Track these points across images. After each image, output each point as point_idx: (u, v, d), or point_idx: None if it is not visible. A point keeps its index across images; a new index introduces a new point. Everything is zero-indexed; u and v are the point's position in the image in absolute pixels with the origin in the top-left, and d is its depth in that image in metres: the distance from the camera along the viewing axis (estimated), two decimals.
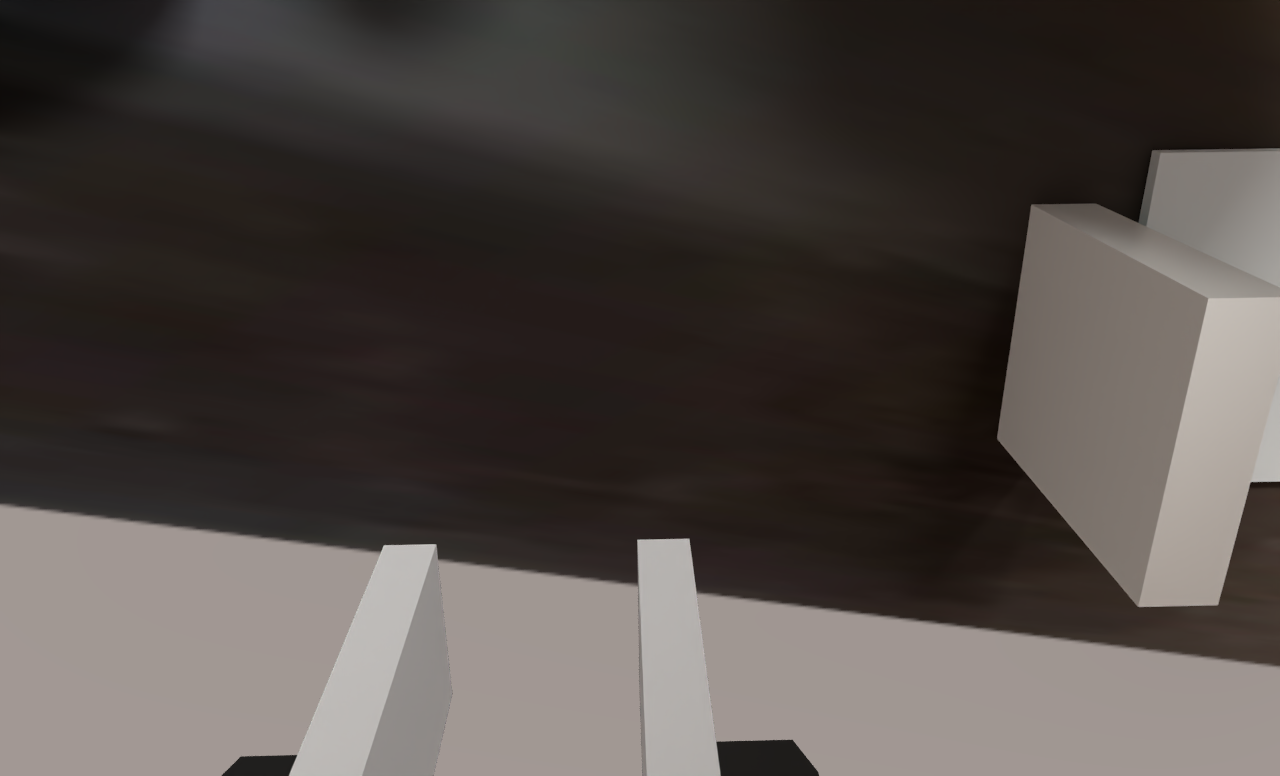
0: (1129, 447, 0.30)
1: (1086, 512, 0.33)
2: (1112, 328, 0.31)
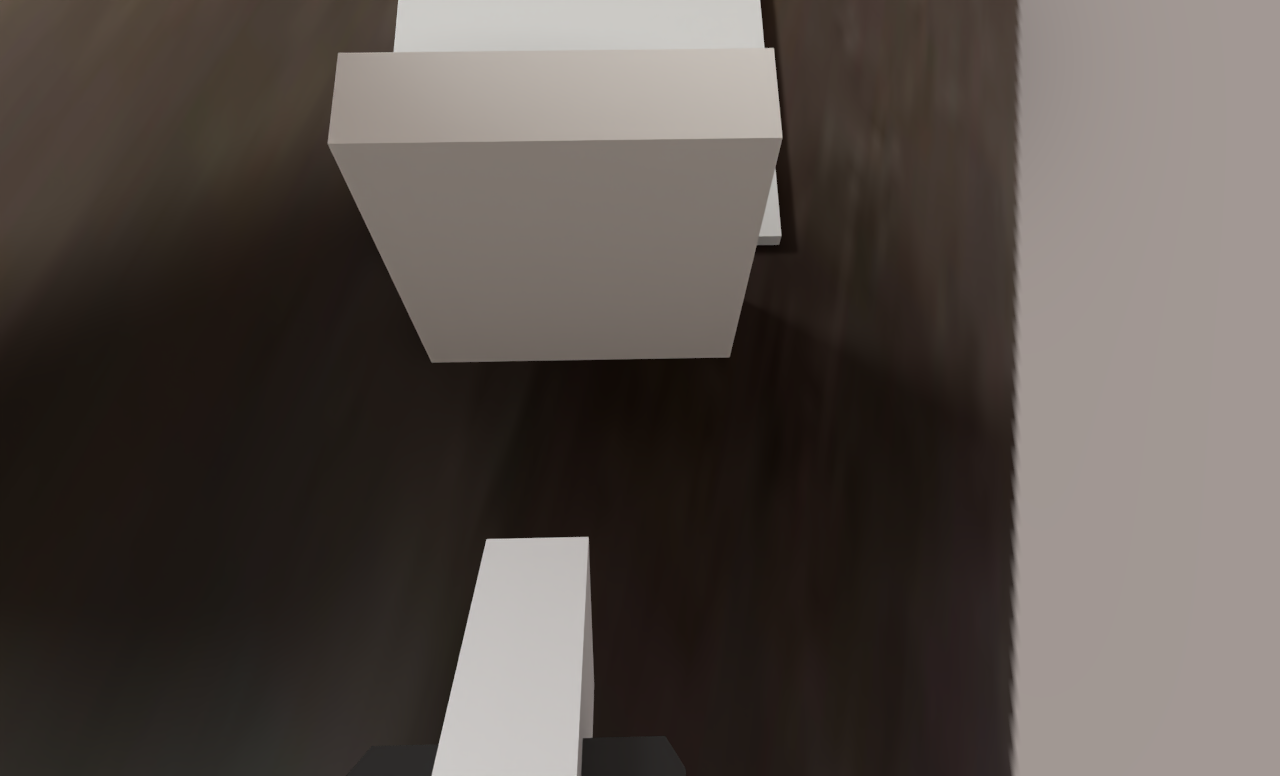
0: (587, 197, 0.23)
1: (719, 232, 0.25)
2: (470, 246, 0.25)
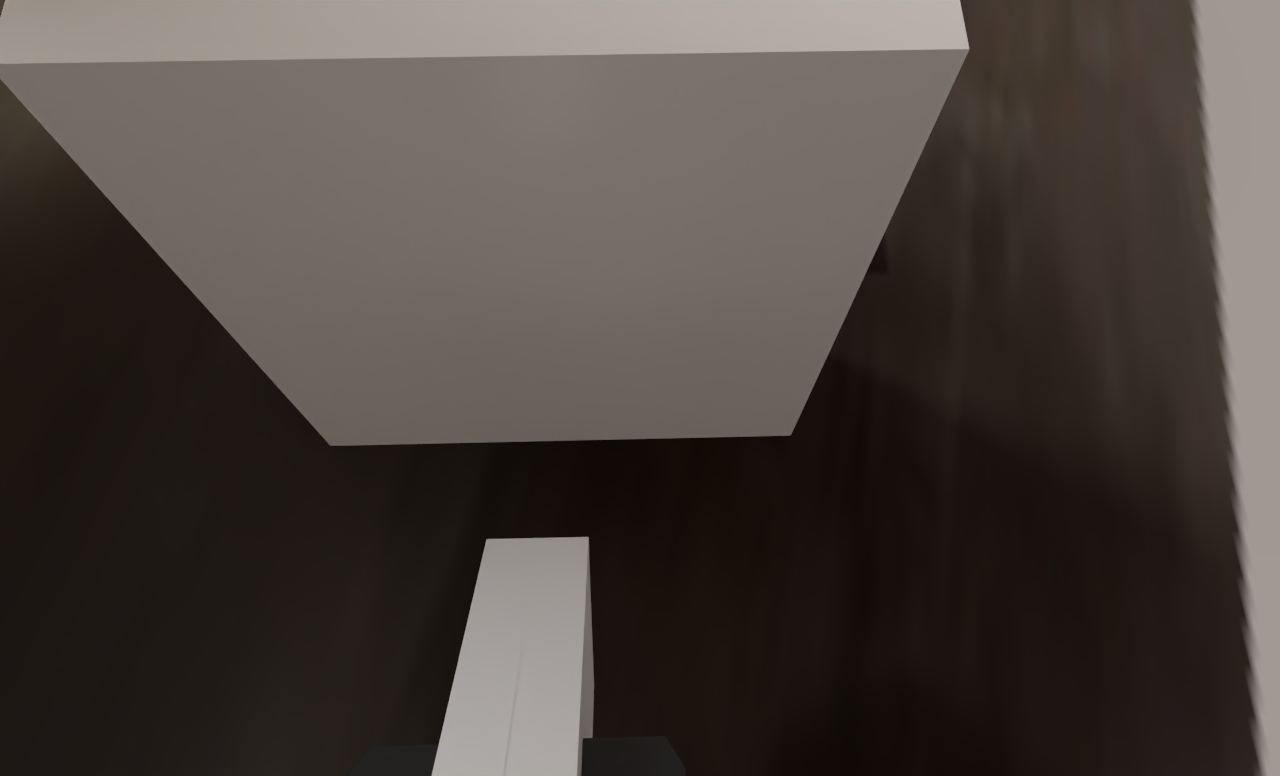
0: (555, 180, 0.12)
1: (803, 249, 0.14)
2: (349, 275, 0.14)
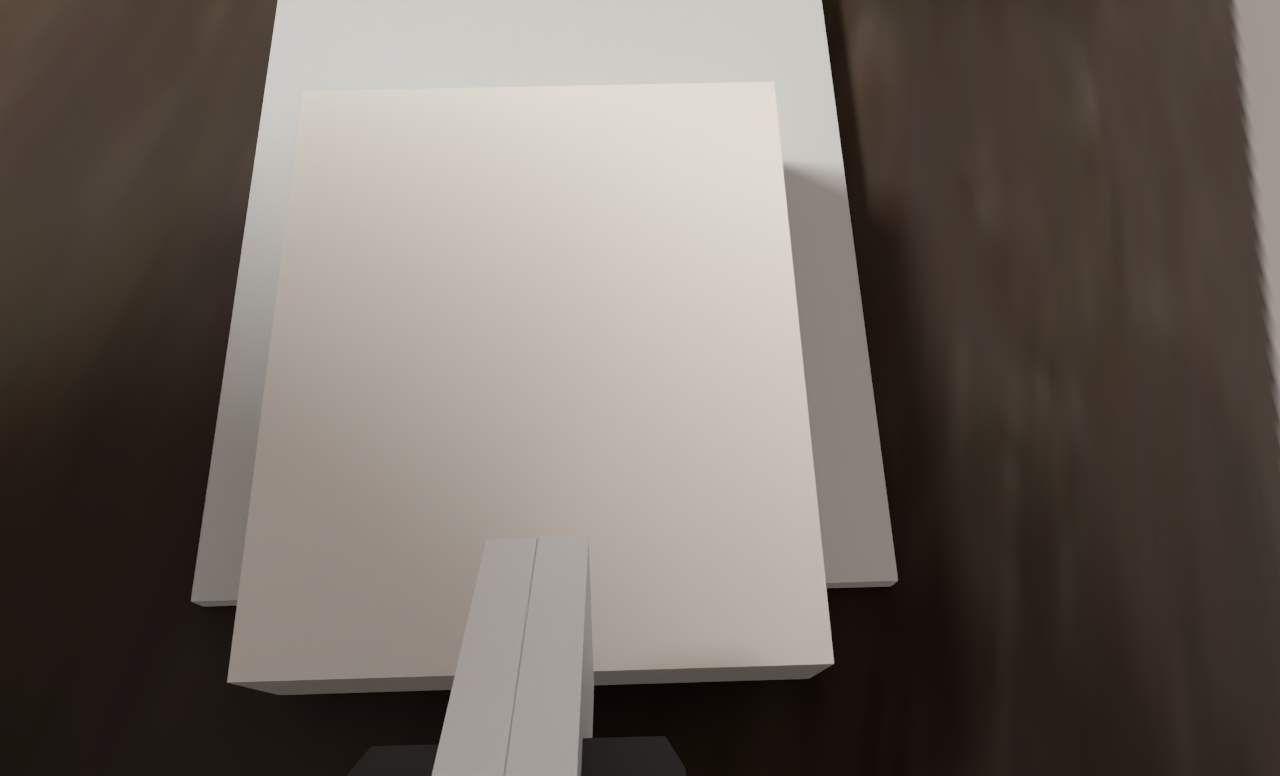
0: (567, 174, 0.20)
1: (737, 245, 0.19)
2: (404, 275, 0.19)
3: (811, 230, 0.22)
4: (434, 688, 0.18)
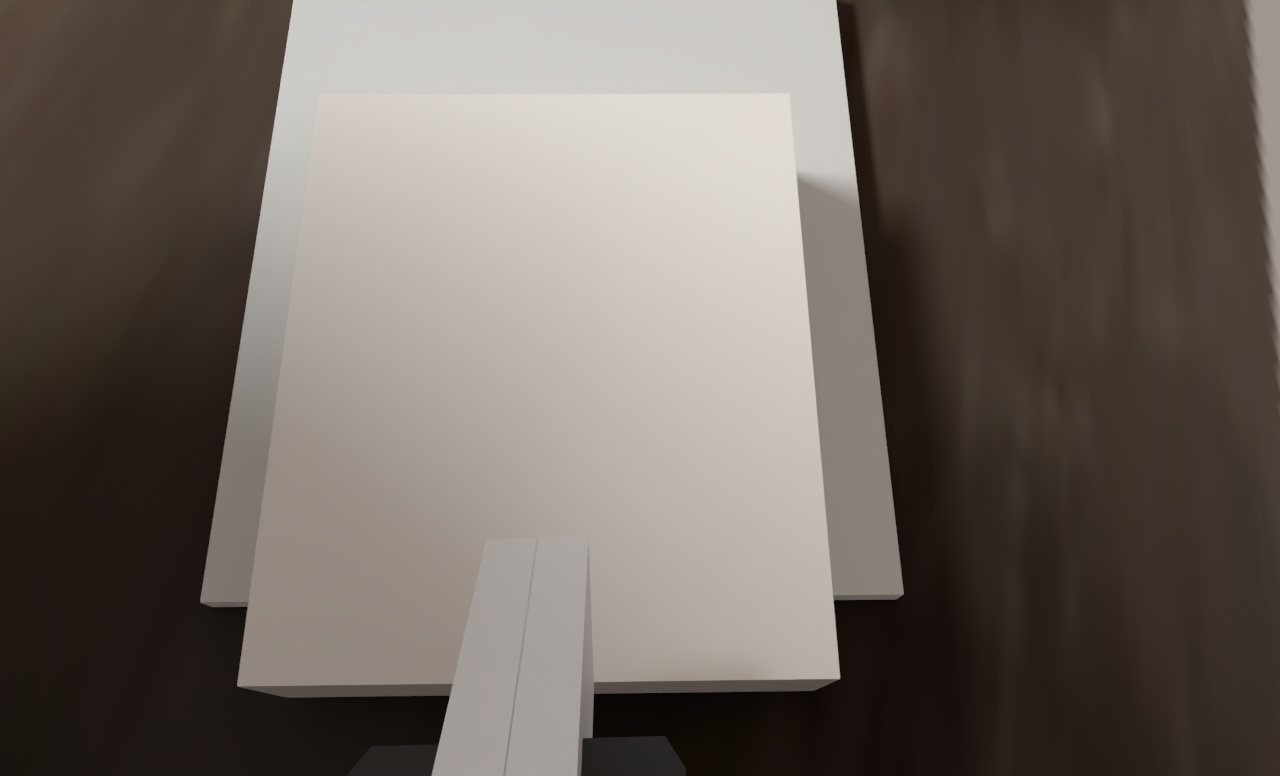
0: (581, 182, 0.20)
1: (750, 257, 0.19)
2: (417, 282, 0.19)
3: (822, 241, 0.22)
4: (441, 694, 0.18)
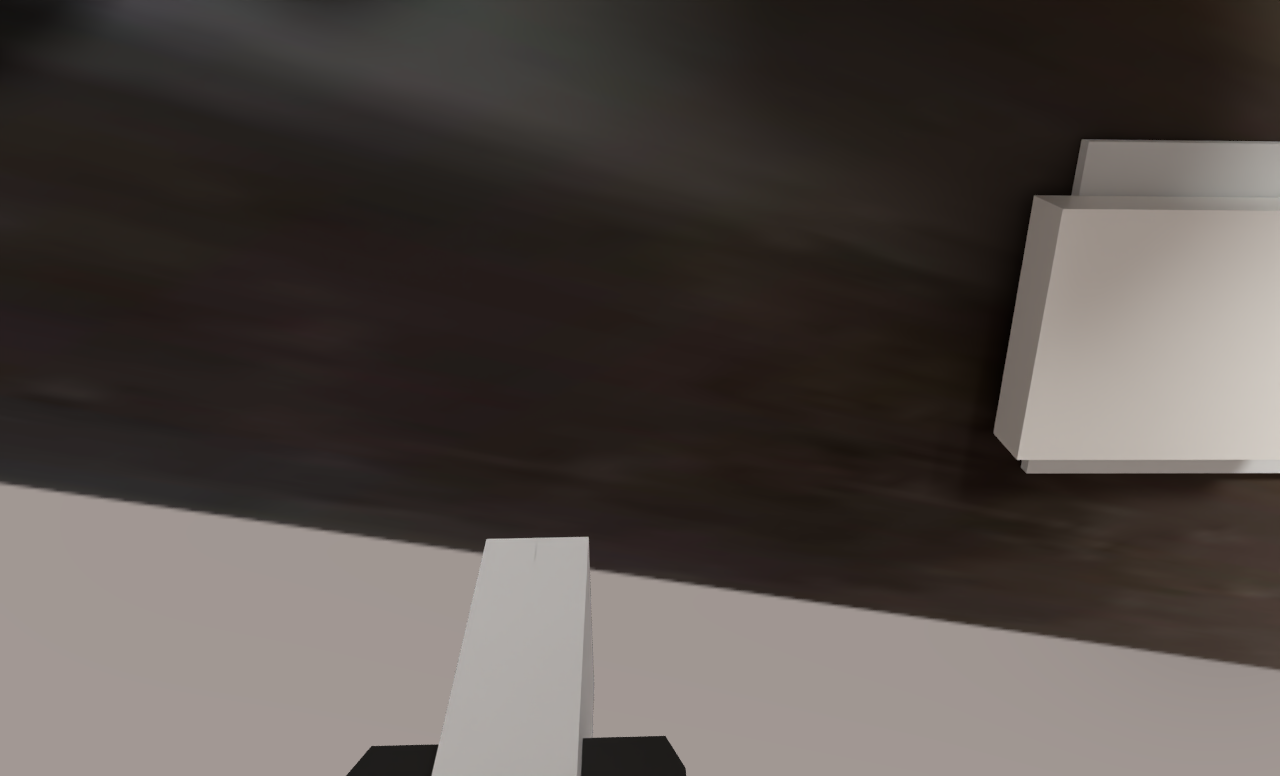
0: None
1: (1220, 436, 0.38)
2: (1250, 276, 0.36)
3: None
4: (1024, 273, 0.37)
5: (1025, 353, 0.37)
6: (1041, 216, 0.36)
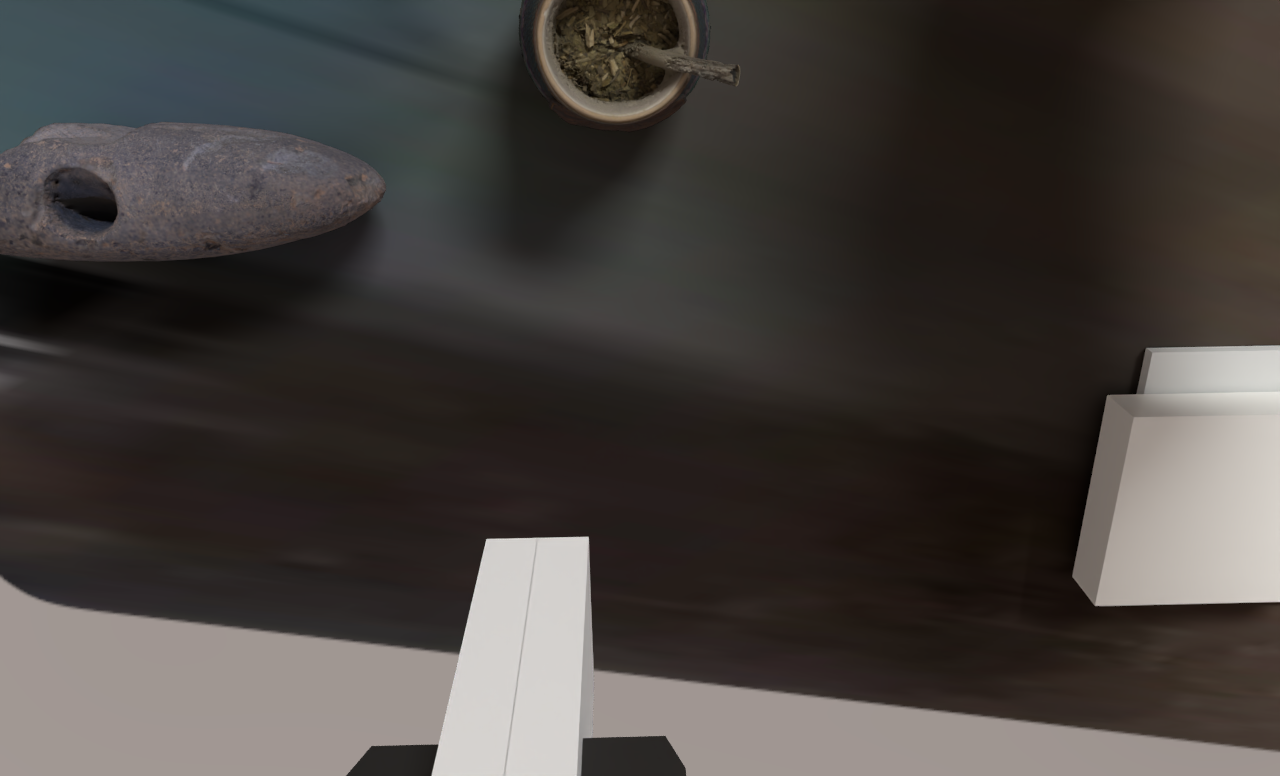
0: None
1: (1264, 583, 0.46)
2: None
3: None
4: (1099, 455, 0.46)
5: (1101, 521, 0.46)
6: (1114, 415, 0.44)
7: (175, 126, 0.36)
